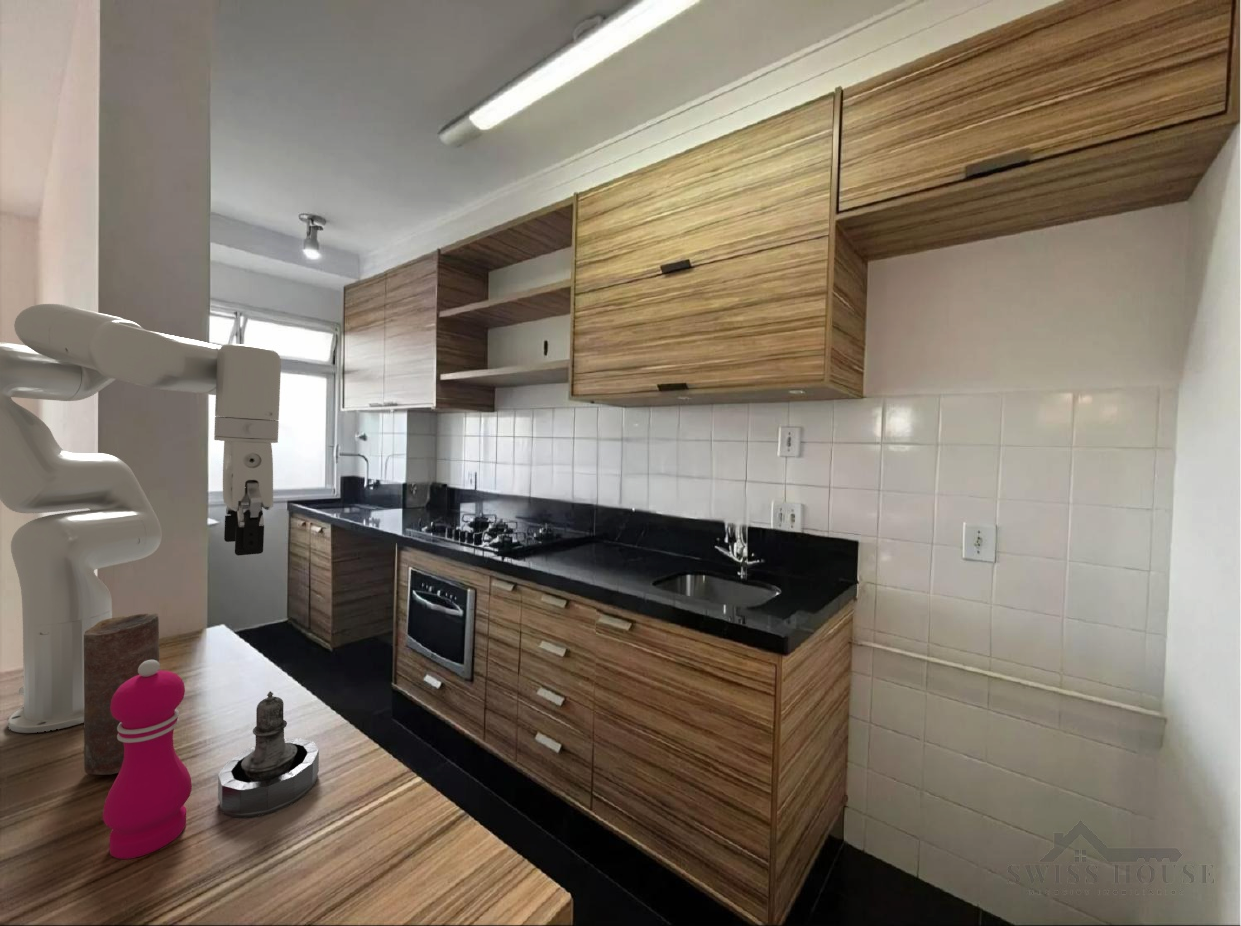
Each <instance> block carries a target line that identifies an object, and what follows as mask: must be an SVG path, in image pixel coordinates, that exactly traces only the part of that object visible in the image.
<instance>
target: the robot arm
mask: <svg viewBox="0 0 1241 926" xmlns="http://www.w3.org/2000/svg"><path fill="white" fill-rule="evenodd" d="M13 326H14V332H15V335H17V338H18V339H19V340H20V341H21V342H22V343H23V344H19V343H12V342H5V341H0V501H1V503H2V504H3V505H4V506H5V507H6V508H8V509H9V510H10V511H12V512H15V513H19V514H44V513H53V514H49V515H45V516H41V517H37V518H34V519H32V520H29V521H28V522H26V523H24V524H23V525H22V526H20V527H18V529H17V530H16V531H15V532H14V534H13V536H12V538H11V541H10V552H11V555H12V556H11V557H12V560H13V563H14V566H15V569H16V570H15V571H16V573H17V578H18V581H19V586H20V595H21V607H22V610H21V611H22V653H23V654H22V660H23V661H22V663H23V664H22V666H23V667H22V668H23V669H22V671H23V673H22V674H23V675H22V677H23V686H21V687H19V688H18V692H17V693H18V695H21V696H23V706H22V707H21V708H19V709H18V710H16V711H14V712H13V713H12V714H11V715H10V716H9V717H8V718H7V719H8V720H7V727H9V728H8V730H10V729H11V730H10V731H12V732H14V733H18V734H21V733H22V734H35V733H37V732H38V733H45V732H44V731H46V732H51V731H50V730H52V731H57V730H56V729H58V730H62V729H65V728H69V727H70V728H71V727H73V726H77V725H80V724H84V634H85V631H87V630H88V629H89V628H91V627H93V626H95V625H96V624H97V623H98V622H100V621H101V620H106V619H110V618H113V598H112V594H111V591H110V590H109V588H108V587H107V585H106V584H105V583H104V582H103V581H102V580H101V579H100V578H99V577H98V576H97V575H96V573H95V570H99V569H103V568H106V567H111V566H117V565H121V564H125V563H129V562H130V563H131V562H134V561H135V562H136V561H138V560H142V559H145V558H147V557H149V556H151V555H153V554H154V553H155V552H156V551H157V550H158V549H159V547H160V545H161V543H162V538H163V530H162V526H161V523H160V521H159V518H158V516H157V514H156V512H155V511H154V508H153V505H152V504H151V503H150V501H149V499H148V497H147V495H146V493H145V491H144V490H143V488H142V486H141V484H140V483H139V481H138V479H137V477H136V476H135V473H134V472H133V470H132V469H131V467H130V466H129V465H128V464H127V463H125V461H123V460H122V459H120V458H119V457H116V456H115V455H112V454H108V453H103V452H71V451H70V452H69V451H67V450H65V449H63V448H62V447H61V446H60V445H59V443H58V442H57V440H56V438H55V437H54V435H53V432H52V431H51V429H50V428H49V426H48V425H47V424H46V423H45V421H43V420H42V419H41V418H40V417H39V416H37V415H36V414H34V413H33V412H32V411H30V410H29V409H27V408H25V407H23V406H21V405H20V404H18V403H16V402H15V401H14V400H13V399H12V398H18V399H20V398H21V399H30V400H32V399H33V400H47V401H60V402H76V401H81V400H85V399H87V398H88V399H89V398H91V397H92V396H94V395H95V394H97V393H98V392H100V391H101V390H103V389H104V388H105V387H108V386H109V385H110V384H111V383H113V382H114V381H117V380H118V381H122V382H126V383H129V384H133V385H136V386H137V385H138V386H141V387H146V388H150V389H156V390H162V391H163V390H164V391H175V392H185V393H196V394H199V395H200V394H203V395H211V396H215V407H214V409H215V410H214V434H213V435H214V437H213V439H214V441H221V442H223V458H222V459H223V460H222V464H223V465H222V498H223V503H224V504H225V505H226V510H225V513H226V514H225V515H224V531H223V535H224V536H223V538H224V542H226V543H229V542H230V543H231V542H234V554H235V555H236V556H245V555H247V556H249V555H258V554H262V553H264V544H265V543H264V539H265V537H264V536H265V525H264V523H265V521H264V511H263V509H264V510H266V511H270V510H271V509H273V507H274V459H273V457H274V456H273V448H272V447H273V446H272V444H276V443H279V428H280V426H279V425H280V423H279V420H280V418H279V417H280V397H281V396H280V395H281V373H282V372H281V371H282V370H281V369H282V359H281V357H280V355H279V353H278V352H276V351H275V350H273V349H271V348H266V347H263V346H257V345H249V344H240V343H228V344H226V343H225V344H224V345H220V344H219V345H218V344H213V343H209V342H205V341H200V340H197V339H191V338H186V337H180V336H177V335H176V336H175V335H172V334H171V335H170V334H165V333H161V332H157V331H152V330H147V329H145V328H143V326H141V325H139V324H138V323H137V322H134V321H131V320H128V319H125V318H122V317H119V316H114V315H110V314H106V313H101V312H97V311H93V310H88V309H83V308H79V307H74V306H70V305H65V304H59V303H42V304H35V305H31V306H29V307H27V308H25V309H23V310H22V311H21V312H20V313H19V314H18V315H17V316H16V317H15V320H14V323H13ZM87 509H88V510H87ZM75 510H80V511H75ZM66 511H71V512H66ZM54 512H55V514H54ZM57 512H61V513H57ZM38 733H37V734H38Z"/></svg>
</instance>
